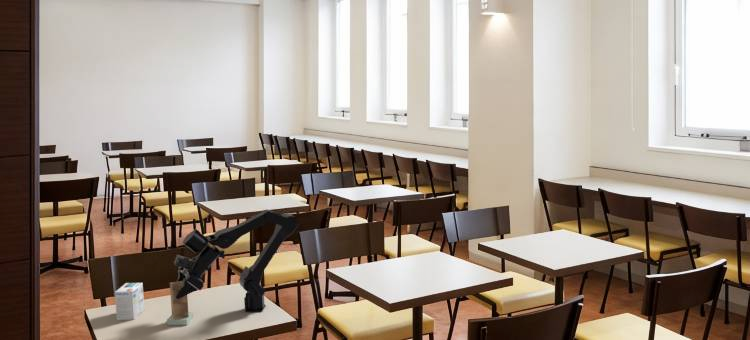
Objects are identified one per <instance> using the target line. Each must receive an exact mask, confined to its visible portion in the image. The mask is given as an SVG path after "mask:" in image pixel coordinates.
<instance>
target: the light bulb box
mask: <svg viewBox="0 0 750 340" xmlns="http://www.w3.org/2000/svg"><path fill="white" fill-rule="evenodd" d="M143 285H144V284H143V282H125V283H123V285H121V286H120V287H119V288H118V289H117V290H115V291H114V299H115V300H114V301H115V314H116V321H128V320H129V321H130V320H131V321H134V320H135V319H136V318H137V317H138V316H139V315H141V314H142V313H143V312H144V311H145V300H144V299H145V298H144V286H143Z"/></svg>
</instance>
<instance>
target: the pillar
mask: <svg viewBox="0 0 750 340" xmlns="http://www.w3.org/2000/svg"><path fill="white" fill-rule="evenodd" d="M183 285H184V281H179V282H176V281H172V282H169V288H170V289H169V291H170V305H171V315H172V316H173V318H174V320H175V319H181V318H187V317H189V315H188V313H189V302H188V300H189V299H188V294H187V295H185V296H183V297H181V298H179V299H177V298H176V295H177V294H178V292H179V291H180V289H181V288H182V286H183Z"/></svg>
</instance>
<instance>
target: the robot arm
mask: <svg viewBox="0 0 750 340" xmlns="http://www.w3.org/2000/svg"><path fill="white" fill-rule="evenodd" d="M267 223H272V224H275V226H274V232H273V234H272V235H271V237H270V238H269V240H268V241H267V243H266V244H265V246H264V247H263V249H262V251H261V252H260V254H259V255H258V256H257V258H256V260H255V261H254V263H253V264H252V265H250V267H248V266H246V265H245V267H244V268H243V270H242V272H241V273H240V274H239V280H238V282H239V285H240V287H241V288H243V289H244V291H246V293H245V296H244V298H243V299H244V301H243V302H244V308H245V310H244V311H245V312H263V310H265V308H266V307H267V306H266V304H265V292H266V289H265V288H264V287H263V286H262V285H261V281H262V280H263V279H262V278H263V274H264V271H265V269H266V268H267V267H268V265H269V264H270V262H271V260H272V259H273V257H274V255H275V254H276V253H277V252H278V250H279V248H280V247H281V245H282V244H283V242H284V241H285V239H287V238H288V237H290V236H291V235H292V234H293V233H294V232H295V231H296V229H297V228H298V227H299V220H298V218H297V217H296V216H295V215H292V214H290V213H288V212H287V213H286V212H285V213H279V212H276V211H272V210H271V209H263V210H262V211H261V212H259V213H257V214H255V215H254V216H251V217H250V218H247V219H246V220H244V221H242V222H240V223H238V224H236V225H232V226H230V227H225V228H221V229H220V230H216V231H215V232H214V233H212V234H209V235H206V236H205V235H204V234H203V233H201V232H200V230H198V229H197V228H195V229H193V230H192V231H191V232H189V233H187V234H186V236H185V237H184V238H183V241H182V244H183V245H184V246H186V247H187V248H188V249H190V250H191V252H193V253H194V254H196V253H199V254H198V255H197V256H192V258H189V257H186V256H183V255H180V254H176V257H175V259H174V261H173V264H174V266H176V267H178V270H177V272H178V277H177V280H176V281H175V282H179V281H184V285H183V286H182V288H181V289H180V291H179V292H178V294H177V295H176V298H177V299H179V298H181V297H183V296H185V295H187V296H188V295H190V294H192V293H194V292H197V291H198V290H199V291H201V290H202V289H203V288H204V281H203V280H202V279H203V277H202V276H203V275H204V274H205V272H209V271H210V270H211V268H210V267H211V266H212V264H214V262H215V261H216V260H217V259H218V257H220V258H222V259H225V250H226V249H228V248H230V247H231V246H232V245H233V244H235V243H236V242H237V241H238V240H239V239H240V238H241V237H243V236H245V235H247V234H248V233H250V232H252V231H254V230H256V229H258V228H260V227H262V226H264V225H265V224H267ZM208 243H209V244H208Z"/></svg>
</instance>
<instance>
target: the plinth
mask: <svg viewBox="0 0 750 340" xmlns="http://www.w3.org/2000/svg"><path fill="white" fill-rule="evenodd" d="M188 315H189V317H187V318H181V319H175V320H174V318H173V316H172V314H171V315H170V316H169V317H168V318H167V319H166V320H167V321H166V324H167V326H188V325H189V324H190V322H191V321H192V320H193V319H194V312H188Z"/></svg>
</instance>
